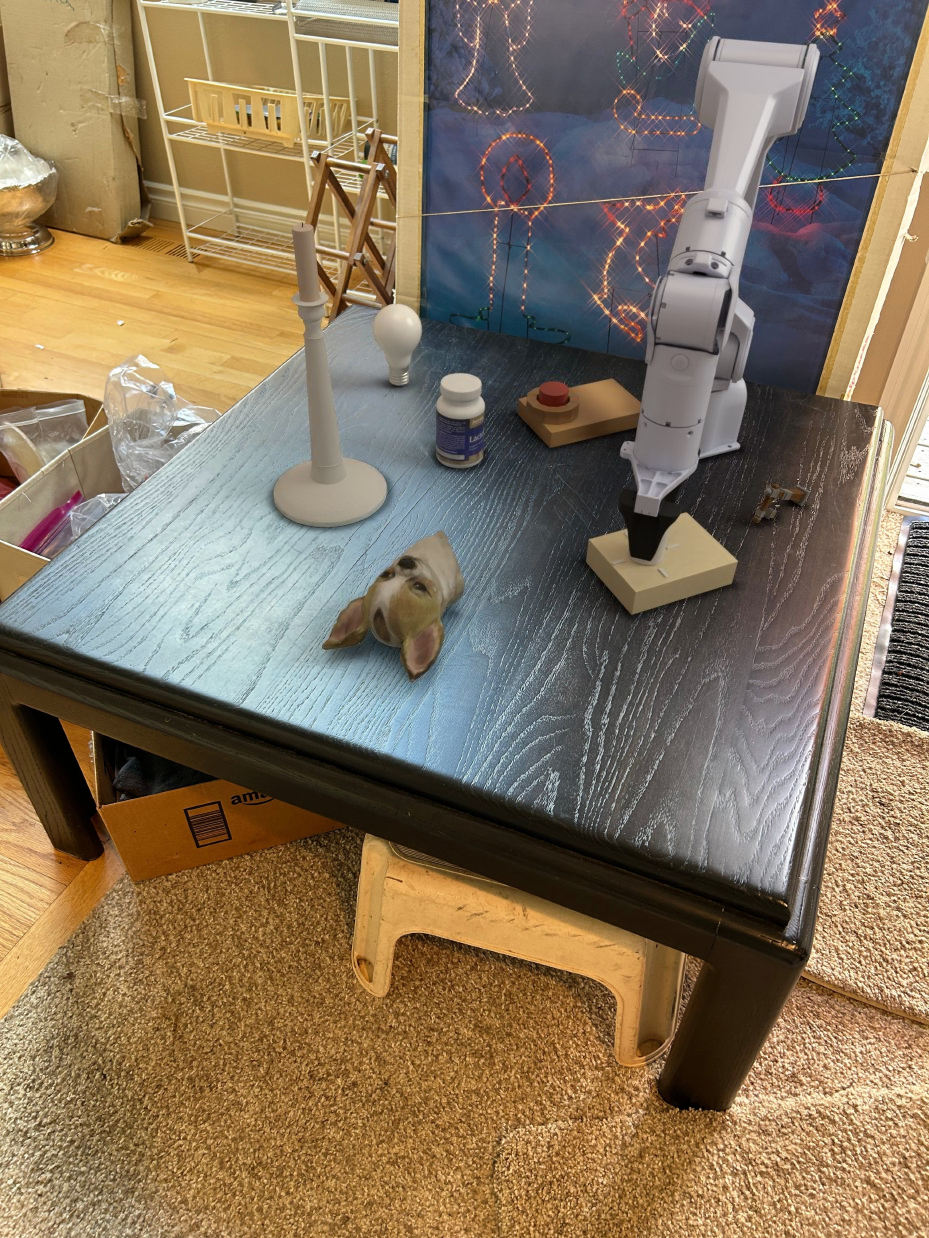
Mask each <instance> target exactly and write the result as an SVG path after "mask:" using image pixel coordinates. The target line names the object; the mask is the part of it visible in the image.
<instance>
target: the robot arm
mask: <svg viewBox="0 0 929 1238" xmlns="http://www.w3.org/2000/svg"><path fill="white" fill-rule="evenodd" d="M721 37H722V36H719V35H718V36H717V35H714V36H712V38H711V39H710V40H709V41H708V42H707V43H706V44H705V47H704V49H703V53H702V57H701V60H700V65H699V69H698V75H697V80H696V84H695V85H696V86H695V92H694V104H693V105H694V107H693V108H694V110H695V112H696V114H697V117H698V119H699V123H700V124H701V125H703V126H704V127H707V128H708V129H710V130H712V131H713V134H712V140H711V147H710V152H709V157H708V163H707V169H706V174H705V181H704V186H703V191H701V192H699V193H696V194H695V195H694V196H692V197H691V198H690V199H689V200H688V201H687V202H686V203H685V205H684V207H683V211H682V215H681V218H680V222H679V226H678V229H677V233H676V235H675V240H674V243H673V247H672V251H671V253H670V254H671V255H670V257H669V261H668V266H667V268H666V272H665V276H664V277H663V276H662V275H660V276H658V278H657V281H656V283H655V285H654V288H653V291H652V295H651V299H650V304H649V309H648V315H647V321H646V322H647V323H646V351H645V358H644V360H645V361H644V363H645V364H647V367H646V373H645V378H644V384H643V389H642V390H643V391H642V395H641V396H642V397H641V401H640V402H641V409H640V415H639V421H638V427H636V433H635V440H634V441H630V440H627V441H624V442H623V443H622V445H621V448H620V451H619V456H620V457H621V458H623V459H625V460H629V461H630V463H631V468H632V472H633V476H634V481H635V486H636V489H637V490H633V489H629V488H625V487H624V488H622V489H621V492H620V493H619V496H618V501H617V506H618V511H619V512H620V514H621V515H622V517H623V520H624V523H625V526H626V529H627V532H628V543H629V552H630V556H631V557H633V558H637V559H642V560H646V561H651V560H652V559H653V557H654V556H655V554H656V552H657V549H658V547H659V544H660V542H661V540H662V537H663V535H664V534H665V532H666V531H667V529H668V528H669V527H670V526H671V525H672V524H673V523H674V522H675V521H676V520H677V519H678V517H679V515H680V514H682V510H683V507H684V505H683V504H680V503H675V501H676V499H677V497H678V493H679V491H680V489H681V486H682V485H683V483H684V481H685V480H687V479H688V478H689V477H690V476H691V475H693V474H694V473H695V471H696V470H697V468H698V465H699V460H702V459H705V458H710V457H713V456H717V455H720V454H721V455H722V454H725V453H730V452H733V451H737V450H739V449H740V448H741V444H740V443H739V442H738V441H737V440H738V436H739V433H740V429H741V425H742V420H743V417H744V412H745V409H746V405H747V400H748V391H747V384H746V382H745V380H744V378H743V375H744V372H745V368H746V364H747V360H748V356H749V352H750V348H751V343H752V340H753V334H754V331H753V329H754V326H755V322H756V317H755V316H754V315H755V312H754V310H752V308H750V306H748V305H747V303H746V302H744V301H743V300H742V299H741V298H740V297H739V283H740V275H741V271H742V267H743V261H744V257H745V252H746V248H747V243H748V240H749V235H750V232H751V227H752V224H753V219H754V218H753V216H754V211H755V207H756V203H757V199H758V193H759V190H760V184H761V180H762V175H763V171H764V167H765V163H766V157H767V154H768V153H769V150H770V149H771V148H772V146H773V144H774V143H775V141H777V139H778V138H781V137H787V136H792V135H796V134H797V132H798V129H800V128H801V127H802V124H803V121H804V120H805V117H806V113H807V109H808V105H809V101H810V97H811V93H812V89H813V85H814V81H815V78H816V77H815V76H816V73H817V70H818V69H817V68H818V63H819V60H820V55H821V51H820V50H819V48H818V46H817V44H816V43H809V44H808V45H809V46H808V45H807V44H806V45H805V44H793V43H780V42H769V41H757V40H746V39H732V38H721Z"/></svg>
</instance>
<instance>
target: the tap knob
mask: <svg viewBox="0 0 929 1238" xmlns="http://www.w3.org/2000/svg"><path fill="white" fill-rule="evenodd" d="M669 530H670V527H669V528H668V529H667V531H666V532H665V534H664V535H663V537H662V540H661V542H660V544H659V547H658V549H657V552H656V554H655V556H654V557H653V559H652V560H651V561H646V560H642V559H637V558H633V557H631V556H630V552H629V548H628V555H629V557H630V558H631V560H633V561H634V562H636V563H638V564H641V565H647V566H650V565H656V564H658V563H660V562H661V561H662V560H663V559H664V554H665V550H666V545H667V540H668V535H669Z"/></svg>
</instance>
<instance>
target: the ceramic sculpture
mask: <svg viewBox="0 0 929 1238" xmlns="http://www.w3.org/2000/svg"><path fill="white" fill-rule="evenodd" d="M465 589H466V580H465V578H464V576H463V574H462V570H461V567H460V564H459V562H458V559H457V558H456V555H455V552H454V549H453V546H452V545H451V543H450V541H449V540H448V537H447V534H446V532H445V531H444V530H442V529H440V530H438V531H436V532H435V533H434V534H431V535H429V536H426V537H424V538H422V539H419V540H417V541H416V542H415V543H414V544H412V545H411V546H409V547H408V548H407V549H406V550H405V551H403V553H402V554H401V555H400V556H398V557H397V558H395V559H394V560H393V562H392V563H391V564H390V566H388V567H386V568H385V569H384V570H383V571H382V572H380V573H379V575H378V576H377V578H375V580H374V582H373V583H372V584H371V585H369V586H368V589H367V591H366V593H365V595H362V596H359V597H357V598H355V599H353V600H350V601H349V602H348V604H347V605H346V607H345V608H344V609H342V610H341V611H340V612H339V614H338V616H337V618H336V622H335V623H334V624H333V626H332V629H331V631H330V633H329V636H328V637H327V639H326V640H324V642H323V643H322V645H321V649H322V650H325V651H329V650H331V651H332V650H339V649H346V648H350V647H357V646H359V645H360V644H362V643H363V642H364V640H365V639H366V637H367V635H368V633H370V630H371V632H372V634H373V636H374V637H375V639H376V640H377V641H379V642H380V643H382V644H384V645H386V646H389V647H393V648H399V649H400V648H401V649H400V659H399V660H400V663H401V665H402V667H403V668H404V670H405V672H406V674H407V677H408V681H409V682H410V683H414V682H415V681H417V680H418V679H420V678H421V677H423V676H424V675H426V674H427V673H428V672H429V671H430V669H431V668H432V667H433V666H434V665H435V663H436V661H437V660H438V657H439V655H440V652H441V650H442V648H443V643H444V640H445V639H446V638H445V637H446V635H445V627H444V624H443V623H442V620H441V618H442V616H443V615H444V613H445V612H446V608H448V607H451V606H453V605H455V604H456V603H457V602H459V600H460V599H462V597H463V595H464V593H465Z"/></svg>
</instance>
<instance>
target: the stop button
mask: <svg viewBox="0 0 929 1238" xmlns="http://www.w3.org/2000/svg"><path fill="white" fill-rule="evenodd" d="M539 387H540V388H539V403H540V404H542V405H545V406H549V407H560V406H565V405H566V404H567V402H568V392H569V388H570V387H569V386H568V385H567V384H566V383H563V382H561V381H552V380H551V381H545V382H543V383H541V384H540V385H539Z"/></svg>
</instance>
